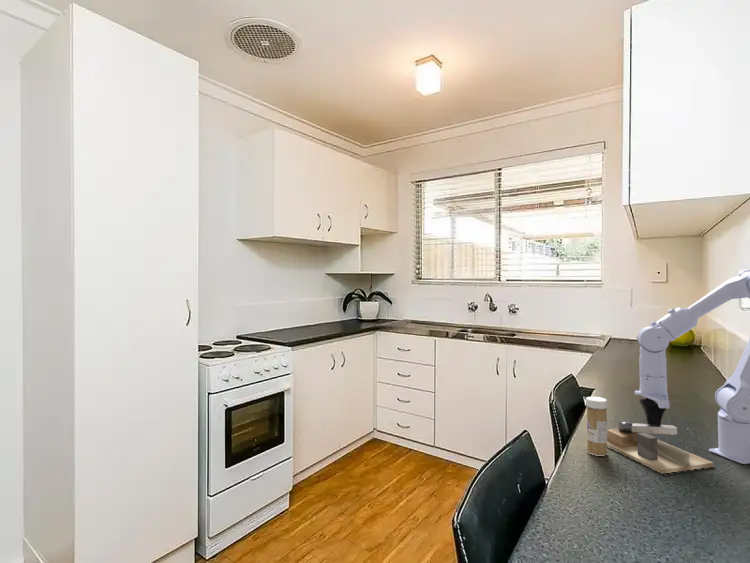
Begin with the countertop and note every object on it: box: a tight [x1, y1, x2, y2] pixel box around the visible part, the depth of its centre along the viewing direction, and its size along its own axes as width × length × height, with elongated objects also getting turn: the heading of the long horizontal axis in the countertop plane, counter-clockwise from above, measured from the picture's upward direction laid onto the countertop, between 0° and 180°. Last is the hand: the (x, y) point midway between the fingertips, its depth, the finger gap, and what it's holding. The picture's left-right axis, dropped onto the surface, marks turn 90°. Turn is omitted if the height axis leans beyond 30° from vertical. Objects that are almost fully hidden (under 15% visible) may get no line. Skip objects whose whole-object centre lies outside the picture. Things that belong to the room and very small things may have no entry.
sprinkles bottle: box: [585, 396, 609, 455], centre depth 103 cm, size 5×5×14 cm
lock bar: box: [617, 420, 678, 436], centre depth 106 cm, size 12×3×2 cm, turn 76°
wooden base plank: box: [607, 427, 715, 474], centre depth 102 cm, size 14×18×6 cm
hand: (654, 428), depth 107 cm, fingers closed, pressing on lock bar
